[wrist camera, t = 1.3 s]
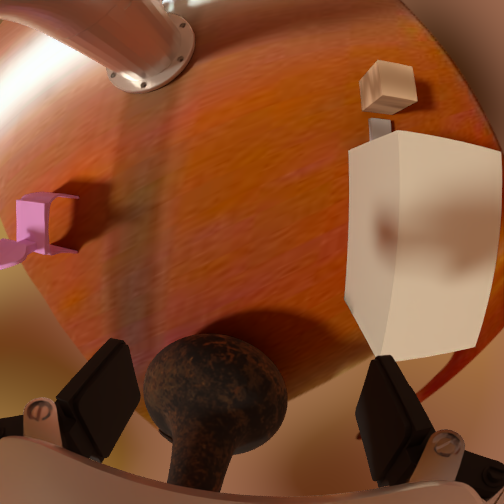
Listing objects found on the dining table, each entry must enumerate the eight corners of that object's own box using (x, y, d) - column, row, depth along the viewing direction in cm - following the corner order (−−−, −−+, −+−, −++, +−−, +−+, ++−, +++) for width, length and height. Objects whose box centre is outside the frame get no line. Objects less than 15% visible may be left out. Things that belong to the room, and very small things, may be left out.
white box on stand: (348, 150, 30) (397, 130, 16) (446, 160, 29) (519, 157, 15) (344, 299, 34) (378, 363, 20) (436, 293, 33) (493, 341, 19)
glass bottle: (141, 356, 39) (44, 498, 12) (223, 288, 35) (125, 499, 8) (223, 425, 41) (189, 571, 14) (311, 375, 37) (332, 563, 10)
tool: (359, 81, 28) (377, 59, 21) (388, 85, 27) (412, 66, 20) (363, 244, 32) (384, 259, 25) (392, 244, 32) (418, 258, 25)
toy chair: (84, 193, 33) (3, 205, 19) (82, 254, 36) (9, 289, 21) (46, 189, 34) (-29, 200, 19) (46, 245, 36) (-24, 272, 21)
